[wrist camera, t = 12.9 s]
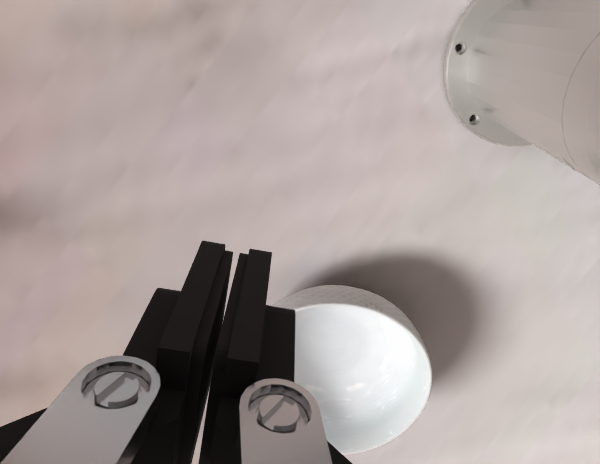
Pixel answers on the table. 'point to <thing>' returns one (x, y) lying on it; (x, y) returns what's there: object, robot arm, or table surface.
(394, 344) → the cereal bowl
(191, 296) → the robot arm
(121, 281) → the table surface
